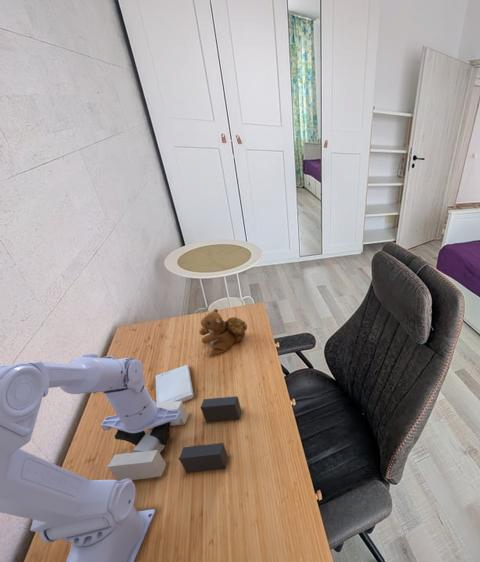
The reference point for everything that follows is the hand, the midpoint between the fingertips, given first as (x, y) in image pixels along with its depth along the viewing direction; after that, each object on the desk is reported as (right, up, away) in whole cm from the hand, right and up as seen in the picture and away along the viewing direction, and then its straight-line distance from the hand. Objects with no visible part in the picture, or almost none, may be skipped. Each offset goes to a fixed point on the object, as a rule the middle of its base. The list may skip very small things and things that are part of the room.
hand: (155, 441), depth 65 cm
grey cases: (+13, -1, +3) cm, 13 cm away
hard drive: (-6, +7, +14) cm, 17 cm away
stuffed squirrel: (+1, +16, +31) cm, 35 cm away
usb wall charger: (0, -1, +1) cm, 2 cm away
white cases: (0, -1, +1) cm, 1 cm away
